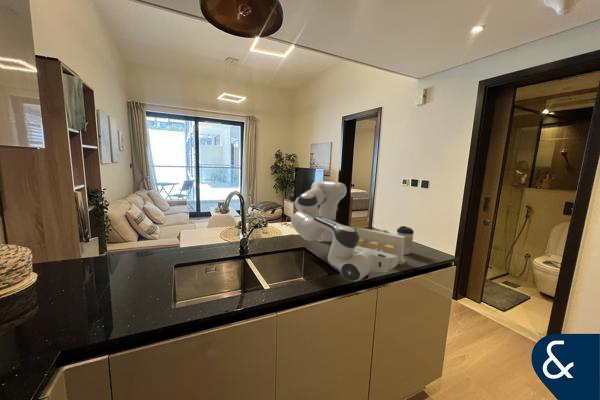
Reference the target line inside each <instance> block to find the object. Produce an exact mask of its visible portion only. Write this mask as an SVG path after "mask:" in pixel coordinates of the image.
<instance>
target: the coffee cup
mask: <svg viewBox="0 0 600 400" xmlns="http://www.w3.org/2000/svg"><path fill="white" fill-rule="evenodd" d="M414 233H415V231H414V230H413V229H412V228H411V227H408V226H405V225H402V226H400V227H398V228H397V229H396V235H400V236H405V240H404V252H403V256H405V255H406V256H408V255H410V254H411V249H412V244H413V239H414Z"/></svg>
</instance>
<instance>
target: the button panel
mask: <svg viewBox="0 0 600 400" xmlns="http://www.w3.org/2000/svg"><path fill="white" fill-rule="evenodd" d="M355 230H356V231H357V233H358V235H359V238H360V239H365V240H366V242H365V247H364V248H368V249H369V243H370V242H372V241H373V242H380V244H379V249H380V250H383V252H384V246H385V245H391V246H395V248H394V254H393V255H397V256H398V264H399V265H402V266H403V265H404V264H405V263H406V259H404V255H403V252H404V240H405V236H400V235H397V234H394V233H390V232H389V233H384V232H380V230H379V231H378V230H375V229H374V230H373V229H369V228H365V227H364V228H363V227H356V228H355ZM398 264H397V265H398Z"/></svg>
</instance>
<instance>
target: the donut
mask: <svg viewBox="0 0 600 400" xmlns="http://www.w3.org/2000/svg"><path fill="white" fill-rule="evenodd" d="M379 232H384V233H390V232H389V231H388V230H386V229H381V230H379ZM378 243H379V245H380V242H378Z"/></svg>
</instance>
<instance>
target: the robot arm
mask: <svg viewBox="0 0 600 400" xmlns="http://www.w3.org/2000/svg"><path fill="white" fill-rule="evenodd" d="M347 192H348V191H347V186H346V184H345V183H342V182H338V181H330V180H329V181H328V180H317V181H313V183H312V184H311V187H310V189H308V190H306V191H304V192H303V193H301V194H300V195H299V196H298V197H296V198H295V201H294V208H295V209H296V210H297V211H296V212H294V213H293V214H292V216H291V219H290V224H291V226H292V227H293V229H294V230H295V231H296V233H297V234H298V235H299V236H300V237H301V238H302V239H304V240H306V241H316V242H319V243H320V242H323V243H324V242H327V243H328V242H331V244H330V247H329V251H328V255H327V258H326V259H327V262H328V264H329V266H331V268H332V269H333V270H335V271H337V272H338V273H340V274H341V276H342V278H344V279H345V280H346V281H348V282H357V281H360V280H362V279H364V278H365V277H366V276H368V275H369V273H376V272H378V273H388V272H389V270H392V269H394V268H396V267H397V265H398V256H397V255H393V254H389V253H385V252H383V250H380V249H376V250H372V249H368V248H364V247H360V246H356V245H357V243H358V241H359V235H358V233H357V231H356V228H353V227H351V226H348V225H345V224H342V223H340V222H337V218H336V215H337V214H336V213H337V208H338V204H339V203H340V201H341V200H342V199H344V197H346V195H347ZM318 206H319V207H318ZM318 210H319V211H318Z"/></svg>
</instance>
